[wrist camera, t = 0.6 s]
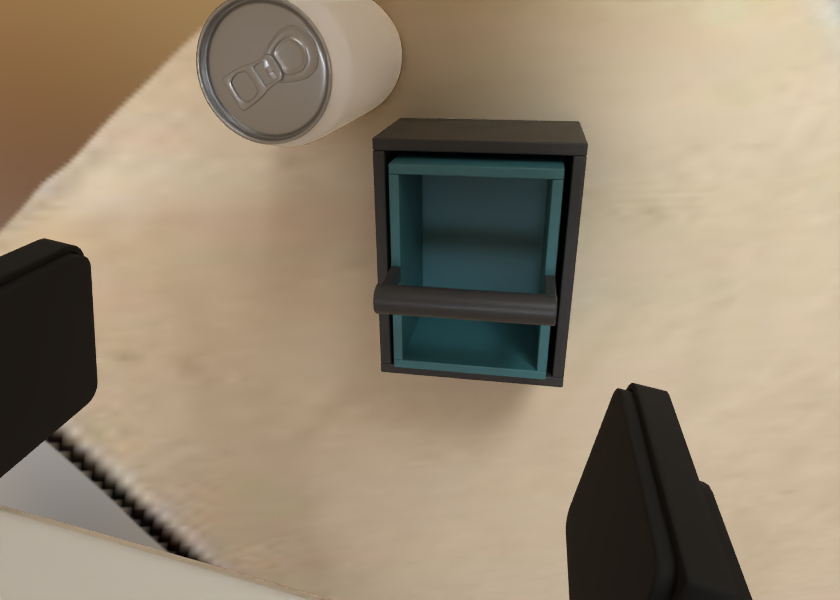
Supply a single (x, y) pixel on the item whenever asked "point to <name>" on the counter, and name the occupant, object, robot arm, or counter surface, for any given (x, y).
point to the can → (296, 66)
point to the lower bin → (495, 140)
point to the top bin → (473, 261)
